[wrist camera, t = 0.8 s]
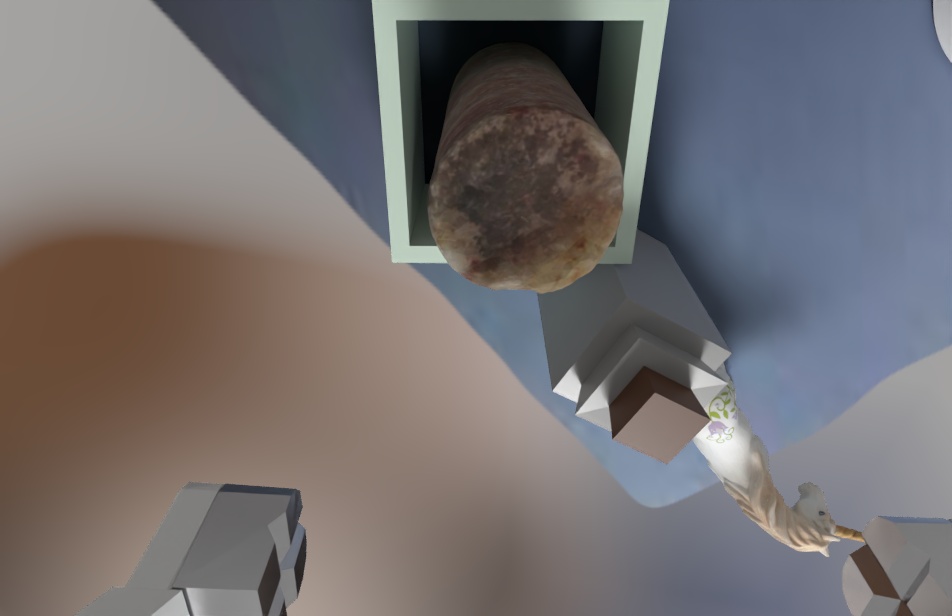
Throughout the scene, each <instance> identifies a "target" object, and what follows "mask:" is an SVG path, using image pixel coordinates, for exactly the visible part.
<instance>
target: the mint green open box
mask: <svg viewBox="0 0 952 616" xmlns="http://www.w3.org/2000/svg"><path fill="white" fill-rule="evenodd" d="M668 7H669V0H372V8H373V21H374V34H375V47H376V60H377V73H378V85H379V98H380V111H381V124H382V137H383V150H384V163H385V176H386V189H387V202H388V215H389V228H390V241H391V254H392V263H448V262H447V261H446V259H445V258H444V257H443V255H442V253H441V252H440V250H439V248H438V247H437V244H436V242H435V240H434V238H433V236H432V233H431V229H430V225H429V219H428V211H427V193H428V188H429V184H425V170H424V147H423V124H422V102H421V79H420V56H419V33H418V20H604V23H603V33H602V43H601V54H600V64H599V75H598V85H597V95H596V106H595V116H594V121H595V122H596V124H597V126H598V128H599V129H600V130H601V131H602V133H603V134H604V135H605V136H606V138H607V139H608V140H609V142H610V143H611V145H612V147H613V148H614V150H615V152H616V153H617V155H618V156H619V160H620V163H621V167H622V172H623V179H624V189H623V190H624V198H623V213H622V216H621V219H620V224H619V228H618V230H617V232H616V234H615V236H614V238H613V240H612V242H611V243H610V245H609V246H608V248H607V249H606V252H605V254H604V256H603V257H602V258H601V259H600V261H599V262H598V263H597V264H632V257H633V250H634V243H635V236H636V229H637V222H638V215H639V208H640V202H641V195H642V188H643V181H644V174H645V167H646V160H647V153H648V146H649V139H650V132H651V125H652V118H653V111H654V104H655V97H656V90H657V83H658V76H659V69H660V62H661V55H662V48H663V42H664V35H665V28H666V21H667V14H668Z"/></svg>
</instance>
